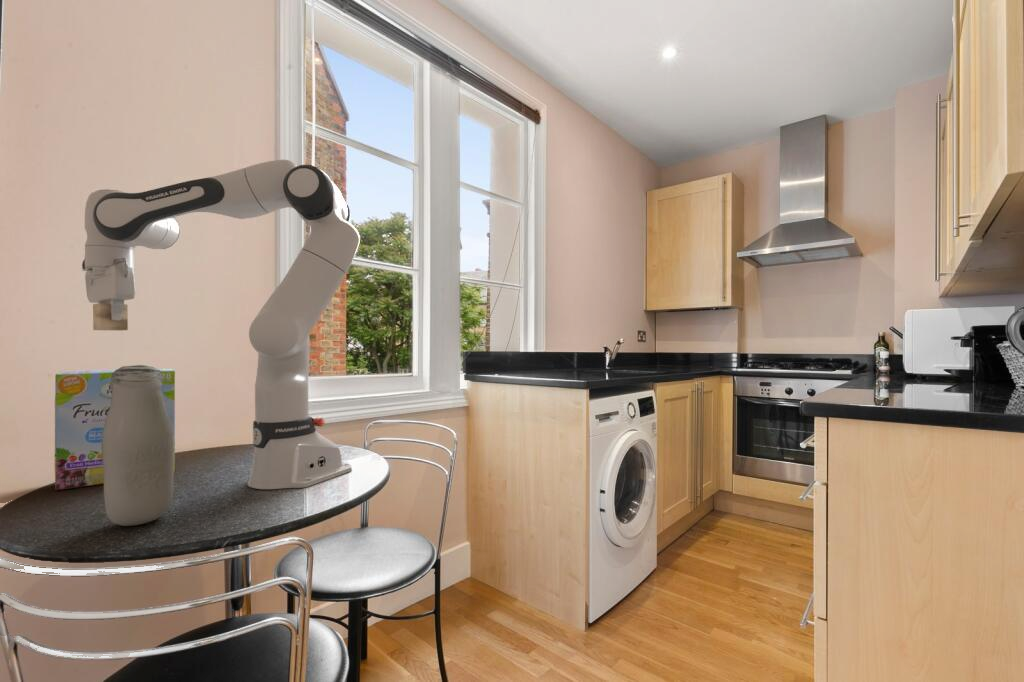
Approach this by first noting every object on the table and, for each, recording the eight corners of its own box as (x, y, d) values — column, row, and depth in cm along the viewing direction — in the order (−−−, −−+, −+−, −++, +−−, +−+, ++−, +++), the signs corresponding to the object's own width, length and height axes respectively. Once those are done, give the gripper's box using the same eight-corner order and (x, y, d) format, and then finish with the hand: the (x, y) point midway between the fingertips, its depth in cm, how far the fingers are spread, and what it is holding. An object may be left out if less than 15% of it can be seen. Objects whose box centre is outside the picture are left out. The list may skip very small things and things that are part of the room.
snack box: (53, 492, 102) (52, 373, 102) (58, 483, 109) (56, 371, 109) (177, 474, 116) (175, 368, 116) (174, 466, 123) (173, 367, 122)
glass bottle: (160, 508, 91) (158, 363, 91) (183, 519, 86) (181, 364, 85) (94, 525, 83) (91, 366, 83) (114, 539, 77) (112, 367, 77)
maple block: (120, 330, 114) (120, 305, 114) (127, 330, 111) (127, 304, 111) (93, 330, 110) (93, 304, 110) (100, 329, 107) (100, 303, 107)
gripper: (143, 258, 107) (144, 319, 107) (112, 267, 119) (113, 322, 119) (108, 254, 102) (109, 319, 102) (79, 264, 114) (80, 321, 114)
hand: (111, 320), depth 111 cm, fingers closed on maple block, 5 cm apart
